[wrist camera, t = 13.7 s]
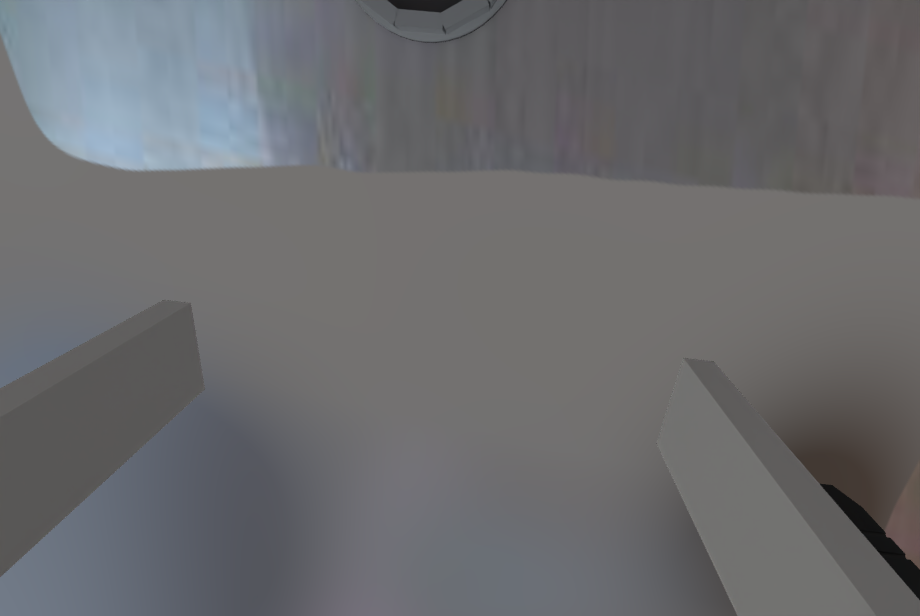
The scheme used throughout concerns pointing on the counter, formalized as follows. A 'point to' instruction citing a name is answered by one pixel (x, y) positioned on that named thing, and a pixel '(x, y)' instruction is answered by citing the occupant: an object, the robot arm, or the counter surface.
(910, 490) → the counter surface
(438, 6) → the ring dish
